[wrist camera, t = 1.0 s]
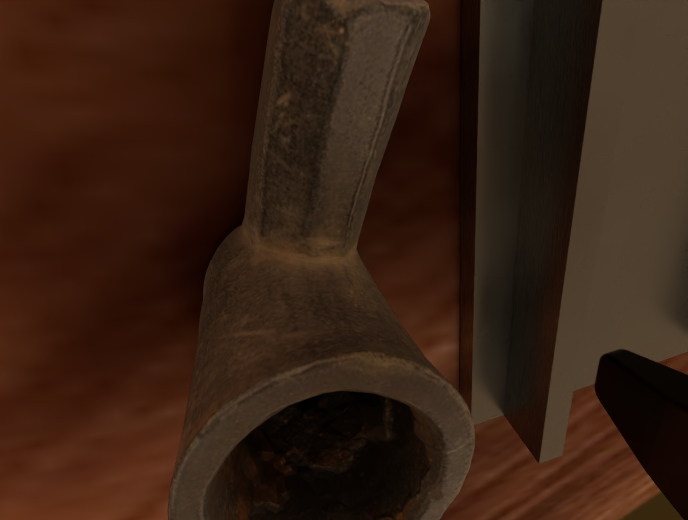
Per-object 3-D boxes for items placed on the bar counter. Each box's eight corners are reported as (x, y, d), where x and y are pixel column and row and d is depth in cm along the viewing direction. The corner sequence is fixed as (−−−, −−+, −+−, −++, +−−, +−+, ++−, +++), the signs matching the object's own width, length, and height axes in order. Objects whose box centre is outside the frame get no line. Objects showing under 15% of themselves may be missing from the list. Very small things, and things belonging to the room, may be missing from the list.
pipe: (425, -10, 14) (666, 54, 8) (330, 372, 20) (418, 590, 13) (178, -66, 12) (216, -47, 5) (154, 380, 18) (158, 646, 11)
